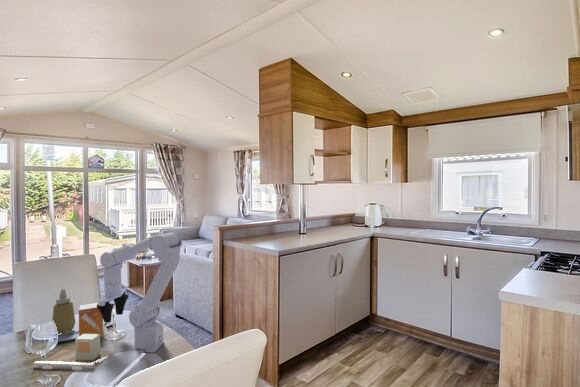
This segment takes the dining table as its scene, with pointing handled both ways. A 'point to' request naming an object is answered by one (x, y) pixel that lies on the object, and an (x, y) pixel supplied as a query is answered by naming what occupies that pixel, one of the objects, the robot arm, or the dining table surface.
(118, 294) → the robot arm
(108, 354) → the shelf board
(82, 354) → the carton
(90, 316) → the small box
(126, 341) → the dining table surface
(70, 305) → the squeeze bottle
